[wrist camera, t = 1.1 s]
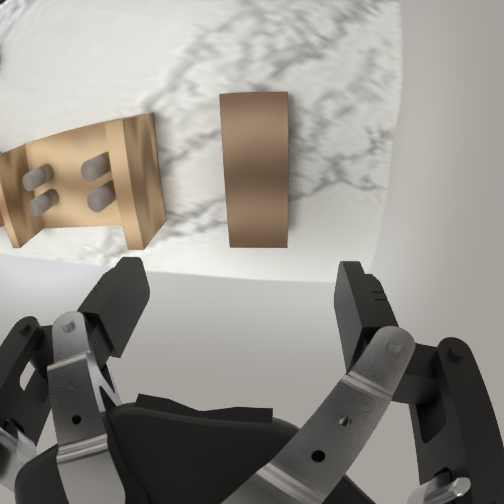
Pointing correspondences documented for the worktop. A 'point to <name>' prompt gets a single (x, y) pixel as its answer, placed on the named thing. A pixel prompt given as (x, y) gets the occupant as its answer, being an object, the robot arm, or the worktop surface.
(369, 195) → the worktop surface
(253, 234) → the brown wooden block
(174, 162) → the worktop surface
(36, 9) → the worktop surface
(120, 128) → the peg frame
